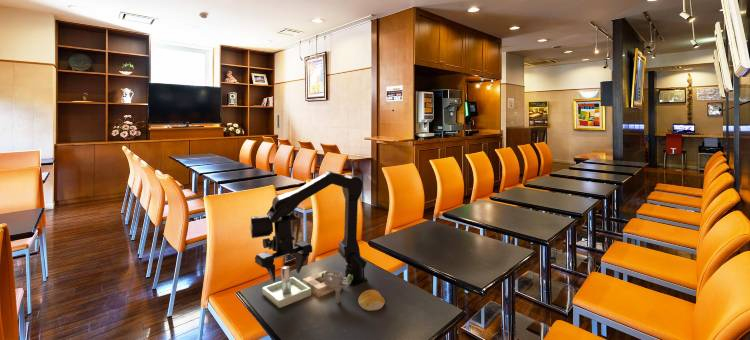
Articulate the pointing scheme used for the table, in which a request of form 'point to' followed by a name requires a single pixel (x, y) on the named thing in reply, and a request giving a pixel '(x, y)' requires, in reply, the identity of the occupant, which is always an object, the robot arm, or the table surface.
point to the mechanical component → (336, 281)
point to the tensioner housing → (318, 285)
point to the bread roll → (371, 300)
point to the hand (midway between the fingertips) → (286, 277)
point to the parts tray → (297, 293)
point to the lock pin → (286, 280)
